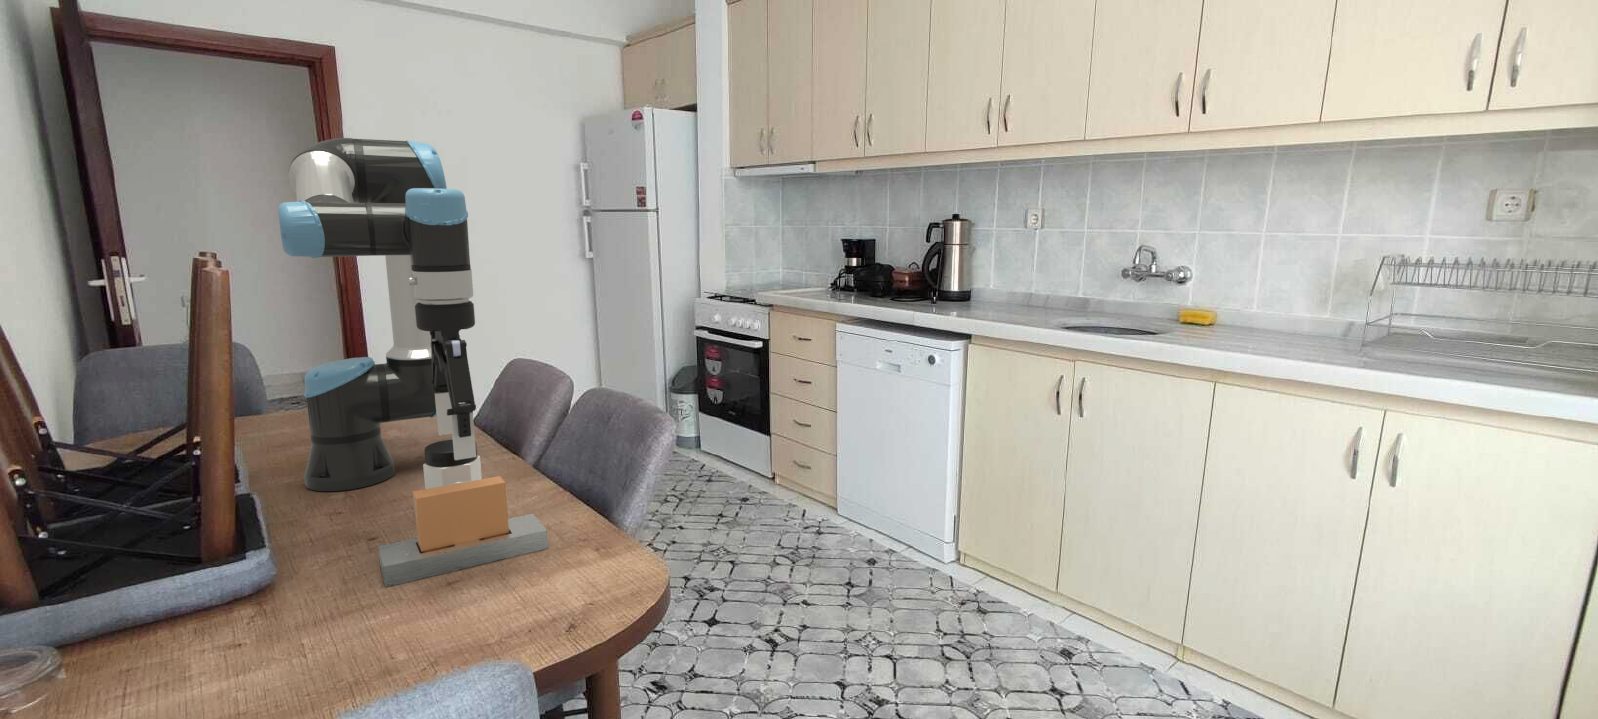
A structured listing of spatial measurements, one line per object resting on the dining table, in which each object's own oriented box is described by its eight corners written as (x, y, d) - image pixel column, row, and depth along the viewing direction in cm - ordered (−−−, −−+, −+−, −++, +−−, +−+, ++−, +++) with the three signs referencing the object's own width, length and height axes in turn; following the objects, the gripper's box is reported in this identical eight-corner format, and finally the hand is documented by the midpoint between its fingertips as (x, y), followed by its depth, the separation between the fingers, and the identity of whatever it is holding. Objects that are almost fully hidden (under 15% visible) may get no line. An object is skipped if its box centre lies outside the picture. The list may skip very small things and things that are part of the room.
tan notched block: (419, 562, 108) (412, 491, 106) (504, 542, 115) (499, 475, 113) (423, 571, 106) (416, 498, 104) (510, 551, 112) (505, 482, 110)
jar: (431, 525, 122) (424, 455, 120) (424, 509, 129) (418, 443, 126) (488, 513, 127) (483, 447, 125) (479, 499, 133) (474, 435, 131)
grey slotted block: (380, 565, 107) (377, 546, 107) (534, 530, 120) (533, 513, 119) (385, 587, 101) (383, 566, 100) (548, 548, 113) (546, 530, 113)
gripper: (403, 293, 111) (416, 428, 116) (428, 312, 91) (442, 474, 95) (456, 291, 116) (467, 421, 120) (492, 308, 95) (503, 464, 99)
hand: (456, 445), depth 107 cm, fingers open, 13 cm apart
